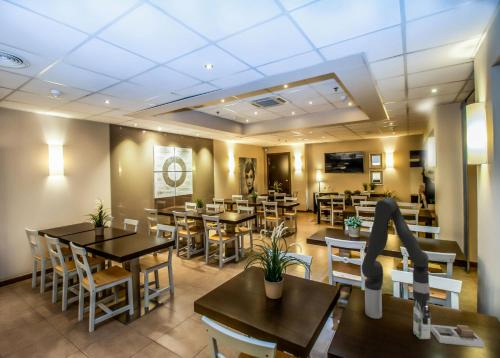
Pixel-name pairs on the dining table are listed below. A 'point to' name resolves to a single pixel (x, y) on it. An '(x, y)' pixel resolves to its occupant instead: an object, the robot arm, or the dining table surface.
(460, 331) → the walnut block
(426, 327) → the syrup box
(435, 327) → the white compartment tray
